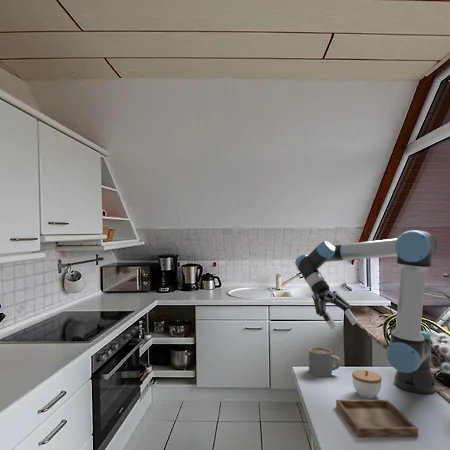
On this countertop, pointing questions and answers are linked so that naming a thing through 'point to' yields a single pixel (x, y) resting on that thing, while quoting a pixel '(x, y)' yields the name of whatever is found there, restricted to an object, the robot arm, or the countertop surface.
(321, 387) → the countertop surface
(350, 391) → the countertop surface
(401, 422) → the walnut square tray
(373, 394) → the lidded jar
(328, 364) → the coffee mug
